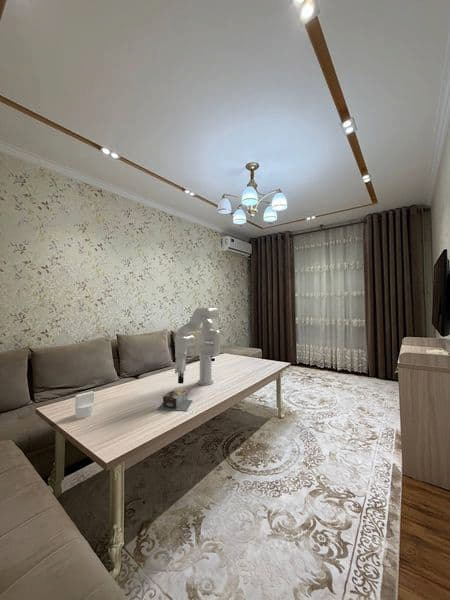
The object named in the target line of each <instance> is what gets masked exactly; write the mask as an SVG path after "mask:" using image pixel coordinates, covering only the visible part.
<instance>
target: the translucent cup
mask: <svg viewBox="0 0 450 600" xmlns="http://www.w3.org/2000/svg"><path fill="white" fill-rule="evenodd" d="M94 397H95V392H94V391H93V390H91V391H88V392H84V393H83V392H82V393H79V394H76V395H75V405H74V406H75V412H74V413H75V415H74V416H75V417H76V418H75V419H77V418H84V419H87V417H88V418H90V417H92V416H93V415H94V411H95V410H94V409H95V405H94V403H95V399H94Z"/></svg>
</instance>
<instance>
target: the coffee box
mask: <svg viewBox="0 0 450 600" xmlns="http://www.w3.org/2000/svg"><path fill="white" fill-rule="evenodd" d="M188 391H189V390H188V389H184V388H178V387H177V388H174V389H173V390H171V391H169V392H168V393H167V394H165V395H163V396H162V403H163V407H168V408H174V409H176V408H177V407H179V406H180V405H181V404H182V403H184V402H185V401H186V400H189V397H188V394H189V392H188Z"/></svg>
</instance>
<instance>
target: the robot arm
mask: <svg viewBox="0 0 450 600" xmlns="http://www.w3.org/2000/svg"><path fill="white" fill-rule="evenodd" d="M191 315H192V316H191V317H190V319H189V321H188V322H186V323H185V324H184V325H182V326H181V327H180V328H179V329H178V331H177V333H176V335H175V337H174V343H175V348H174V349H175V350H174V351H175V354H174V358H175V366H174V367H175V368H174V373H175V374H177V384H184V379H185V378H184V377H185V376H184V374H185V371H186V369H187V367H186V365H187V360H186V358H187V357H188V356H187V355H188V347H193V346H194V345H195V344H196V341H197V340H196V337H195V336H194V335H192V334H188V333H190V332H192V331H195V330H196V331H197V329H199V328H200V327H202V328H201V340H202V341H203V343H202V342H201V343H200V344H199V345H198V354H199V380H197V384H199V386H200V385H201V386H209V385H212V384H213V383H214V380H213V379H212V365H213V364H212V358H211V357H218V356H220V353H221V342H222V333H221V331H220V330H219V329H213V328H214V327H213V326H214V324H213V320H216V319H218V317H219V315H220V311H219V309H218V308H217V307H197V308H195V310H194V311H193V313H192V314H191ZM201 325H202V326H201ZM209 342H210V343H209ZM211 342H212V343H211Z"/></svg>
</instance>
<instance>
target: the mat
mask: <svg viewBox="0 0 450 600" xmlns="http://www.w3.org/2000/svg"><path fill="white" fill-rule="evenodd" d="M192 403H193V399H187V400H186V401H185V402H184V403H182V404H181V405H180V406H179V407H177V408H176V409H174V408H168V407H163V402H162V403H161V404H160V405H159V406H158V407H157V409H156V410H157V411H173V412H174V411H175V412H188V409H189V408H190V406H191V404H192Z"/></svg>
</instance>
